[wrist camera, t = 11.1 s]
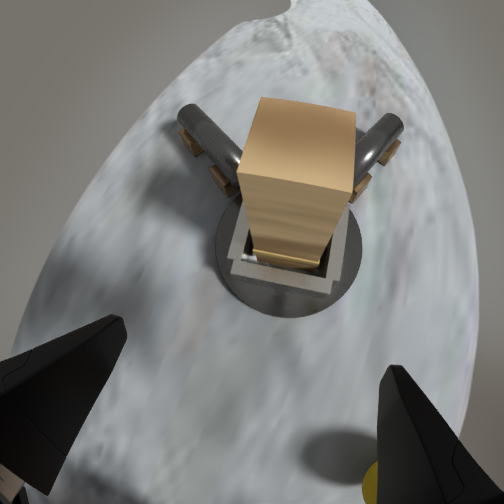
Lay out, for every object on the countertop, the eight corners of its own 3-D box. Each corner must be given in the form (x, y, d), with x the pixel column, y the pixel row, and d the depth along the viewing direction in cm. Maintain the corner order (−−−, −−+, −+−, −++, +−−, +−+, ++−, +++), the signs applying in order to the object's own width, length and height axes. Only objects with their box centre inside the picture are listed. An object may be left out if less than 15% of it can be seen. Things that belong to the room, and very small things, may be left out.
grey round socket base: (347, 330, 21) (359, 329, 18) (200, 299, 23) (189, 292, 20) (365, 196, 24) (375, 178, 21) (237, 172, 26) (232, 151, 23)
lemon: (349, 496, 16) (373, 545, 9) (354, 446, 18) (387, 487, 10) (405, 483, 16) (444, 521, 8) (413, 434, 17) (462, 462, 10)
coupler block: (313, 274, 22) (354, 196, 10) (255, 262, 22) (233, 174, 11) (322, 220, 23) (358, 112, 11) (268, 209, 24) (259, 95, 12)
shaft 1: (265, 187, 25) (262, 159, 21) (235, 207, 25) (227, 181, 21) (208, 126, 28) (199, 97, 24) (182, 141, 28) (170, 114, 24)
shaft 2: (343, 213, 24) (356, 188, 20) (316, 190, 25) (322, 162, 21) (396, 152, 26) (410, 125, 21) (372, 134, 26) (382, 106, 22)
